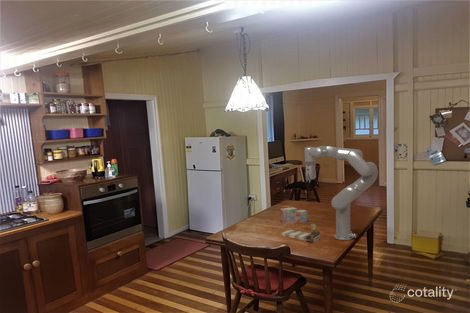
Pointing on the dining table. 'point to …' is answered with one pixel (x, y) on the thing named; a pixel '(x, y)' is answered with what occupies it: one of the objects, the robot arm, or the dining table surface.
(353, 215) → the dining table surface
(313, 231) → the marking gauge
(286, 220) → the stack of blocks
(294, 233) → the birch board
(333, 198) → the robot arm
